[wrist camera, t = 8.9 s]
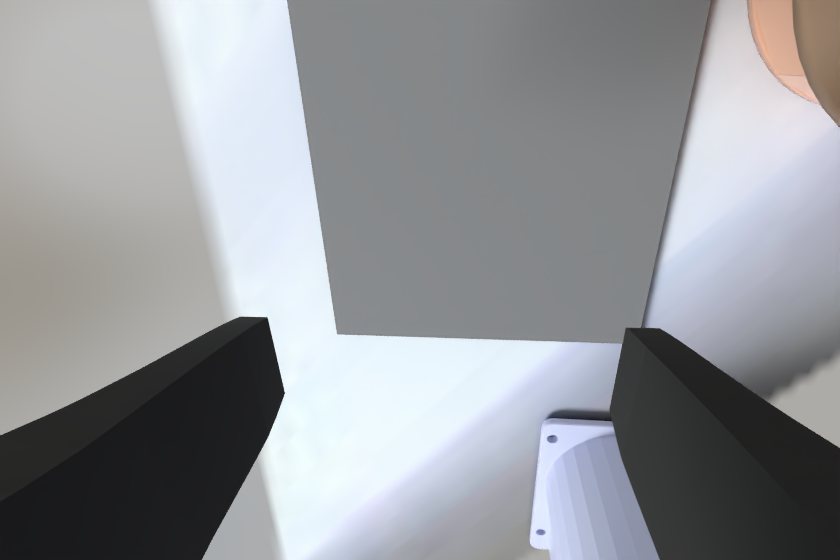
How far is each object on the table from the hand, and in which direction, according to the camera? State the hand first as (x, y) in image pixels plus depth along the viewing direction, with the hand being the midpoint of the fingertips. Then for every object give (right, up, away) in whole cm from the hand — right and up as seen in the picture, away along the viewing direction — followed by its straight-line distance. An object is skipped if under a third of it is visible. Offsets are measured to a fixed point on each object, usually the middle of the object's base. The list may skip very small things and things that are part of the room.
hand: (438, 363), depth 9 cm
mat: (+2, +5, +8) cm, 10 cm away
